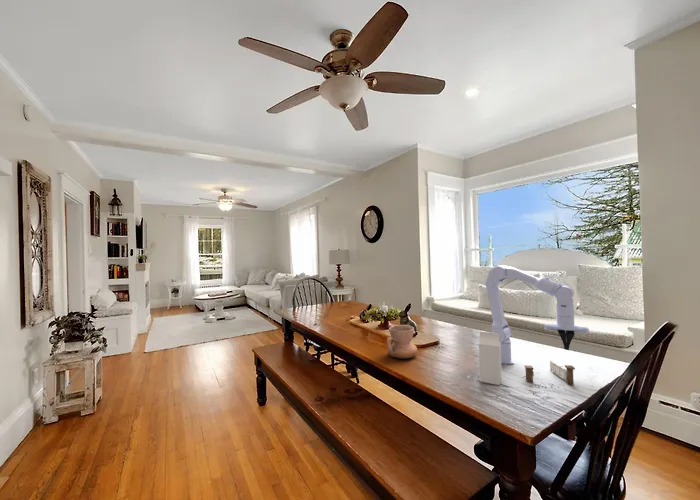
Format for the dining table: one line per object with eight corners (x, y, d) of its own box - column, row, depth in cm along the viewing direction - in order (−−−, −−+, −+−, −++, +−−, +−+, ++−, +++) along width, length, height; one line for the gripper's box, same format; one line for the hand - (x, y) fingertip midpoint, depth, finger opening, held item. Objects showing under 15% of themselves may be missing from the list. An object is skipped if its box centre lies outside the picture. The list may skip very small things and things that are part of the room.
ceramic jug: (405, 348, 160) (404, 322, 160) (425, 356, 147) (424, 327, 147) (378, 356, 150) (377, 328, 150) (397, 365, 138) (396, 334, 138)
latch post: (526, 382, 116) (526, 367, 116) (525, 379, 118) (524, 365, 118) (534, 382, 115) (533, 368, 115) (532, 379, 118) (531, 365, 118)
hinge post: (568, 385, 112) (567, 367, 113) (565, 382, 115) (564, 365, 115) (575, 385, 112) (574, 368, 112) (572, 382, 114) (572, 365, 114)
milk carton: (499, 385, 114) (498, 335, 114) (479, 381, 118) (478, 333, 118) (501, 378, 120) (500, 331, 120) (482, 375, 124) (481, 329, 124)
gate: (569, 381, 115) (569, 370, 115) (566, 381, 115) (565, 370, 115) (553, 370, 125) (553, 360, 125) (550, 370, 125) (550, 360, 125)
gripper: (586, 314, 121) (587, 348, 121) (543, 312, 129) (544, 343, 129) (589, 318, 115) (590, 353, 115) (544, 315, 123) (545, 348, 123)
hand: (566, 349), depth 122 cm, fingers closed
